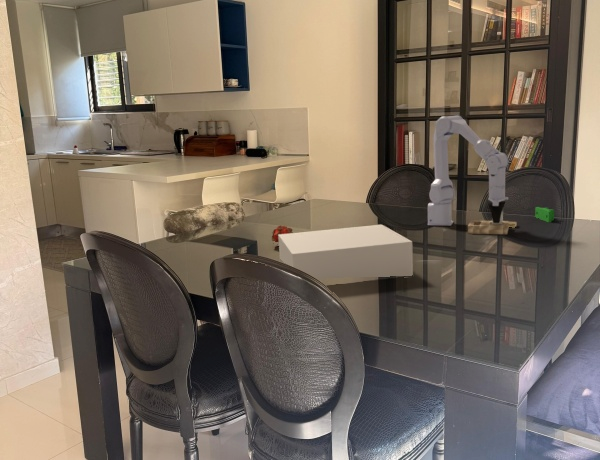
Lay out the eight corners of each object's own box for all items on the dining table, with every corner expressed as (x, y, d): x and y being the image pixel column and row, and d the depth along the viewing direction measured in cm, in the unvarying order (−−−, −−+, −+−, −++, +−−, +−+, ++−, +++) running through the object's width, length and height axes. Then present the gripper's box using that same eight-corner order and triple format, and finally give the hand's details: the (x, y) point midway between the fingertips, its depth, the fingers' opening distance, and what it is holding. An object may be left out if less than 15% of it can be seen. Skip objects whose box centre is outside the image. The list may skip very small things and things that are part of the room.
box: (280, 266, 185) (278, 234, 183) (382, 255, 191) (381, 224, 189) (294, 291, 159) (292, 254, 157) (413, 277, 165) (412, 241, 162)
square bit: (491, 229, 214) (492, 211, 212) (492, 227, 217) (493, 209, 215) (501, 230, 212) (502, 211, 211) (502, 228, 216) (503, 210, 214)
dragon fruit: (283, 246, 219) (288, 258, 207) (265, 236, 216) (268, 247, 205) (295, 228, 217) (300, 239, 206) (277, 217, 214) (281, 228, 203)
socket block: (467, 233, 214) (467, 225, 214) (470, 227, 223) (470, 220, 223) (507, 234, 209) (507, 226, 208) (508, 228, 218) (508, 221, 217)
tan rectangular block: (498, 228, 221) (499, 223, 221) (500, 226, 225) (500, 221, 224) (515, 228, 219) (515, 223, 218) (516, 226, 222) (516, 221, 222)
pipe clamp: (557, 222, 225) (558, 210, 224) (548, 222, 225) (548, 211, 224) (543, 217, 236) (544, 206, 235) (535, 217, 236) (535, 206, 235)
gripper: (507, 188, 203) (506, 225, 206) (509, 183, 216) (508, 218, 219) (486, 188, 206) (486, 225, 209) (489, 183, 219) (489, 217, 222)
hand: (496, 221), depth 214 cm, fingers closed on square bit, 4 cm apart
